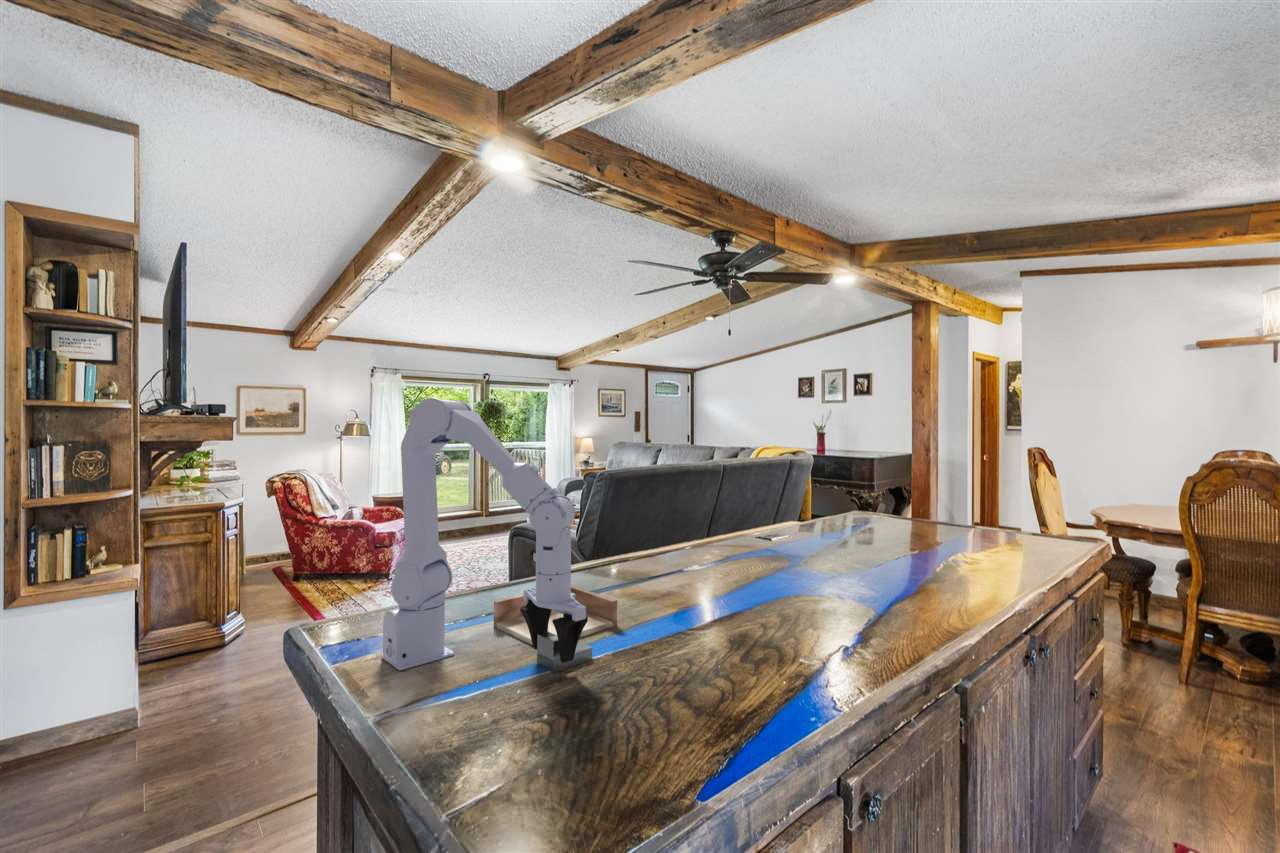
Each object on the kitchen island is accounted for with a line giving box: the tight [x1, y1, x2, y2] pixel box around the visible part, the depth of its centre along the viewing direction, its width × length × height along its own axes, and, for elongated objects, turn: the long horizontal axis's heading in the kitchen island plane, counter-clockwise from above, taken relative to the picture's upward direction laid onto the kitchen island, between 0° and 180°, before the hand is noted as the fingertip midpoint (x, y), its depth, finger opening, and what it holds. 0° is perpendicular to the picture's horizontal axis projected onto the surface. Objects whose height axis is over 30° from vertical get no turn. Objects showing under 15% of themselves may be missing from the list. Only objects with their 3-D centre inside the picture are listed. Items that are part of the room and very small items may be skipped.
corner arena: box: [493, 584, 618, 646], centre depth 114 cm, size 18×16×5 cm
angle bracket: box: [536, 631, 593, 673], centre depth 97 cm, size 8×4×5 cm, turn 134°
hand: (553, 654), depth 95 cm, fingers open, 7 cm apart
